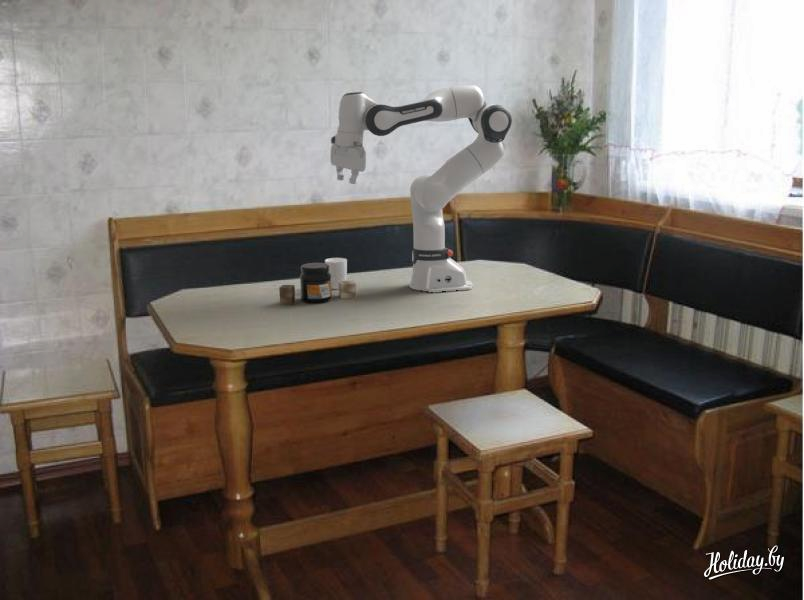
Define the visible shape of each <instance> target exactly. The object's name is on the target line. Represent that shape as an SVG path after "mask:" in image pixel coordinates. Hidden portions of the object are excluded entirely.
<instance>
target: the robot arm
mask: <svg viewBox="0 0 804 600" xmlns="http://www.w3.org/2000/svg"><path fill="white" fill-rule="evenodd" d="M337 118H338V127H337V132H336V134H335V135H333V136H332V137H330V143H331V147H330V163H331V165H332V166H335V167H336V168H335V170H336V175H337V177H336V179H337V180H338V181H344V179H345V178H344V177H345V175H344V172H343V170H344V169H346V170H350V171H351V172H350V173H351V175H350V177H349V180H348V181H349V184H351V185H356V183H357V178H358V176H359V174H360V172H363V173H364V172H365V171H366V165H367V163H366V161H367V153H366V150H365V147H364V146H363V144H364V143H363V142H364V134H365V133H364V131H369V133H371V134H372V135H374V136H378V137H384V136H388V135H390V134H391V133H393V132H394V131H395V130H396V129H398V128H400V127H402V126H407V125H412V124H416V123H420V122H427V121H428V122H436V123H437V122H438V123H440V122H451V121H455V120H459V119H460V120H461V119H468V121H469V123H470V125H471V127H472V128H473V130H474V131H475V132H476V133H477V134H478V135H477V137H476V138H475V140H474V141H473V142H472V143H470V144H469V145H467V146H466V147H464V148H463V149H462V150H460V151H459V152H457V153H456V154H455V155H453V156H452V157H450V158H448V160H446V162H445V163H444V164H443V165H441V167H440V168H438V170H436V171H435V172H434V173H433V174H432V175H420V176H418V177H417V178H415V179H414V180H413V181H412V183H411V185H410V188H409V189H410V190H409V191H410V194H409V195H410V205H411V216H412V226H413V227H412V229H413V232H412V233H413V247H412V251H411V261H412V264H413V265H412V274H411V279H410V283H409V288H410V289H412V290H416V291H421V290H422V291H421V292H426V291H428V292H427V293H431V292H433V293H442V291H446V292H457V291H456V290H458V291H467V290H472V289H473V282H472V281H471V280H470V279H468V278H467V273H466V271H465V269H464V267H462V265H460V264H459V263H458V262H456V260H454V259H452V258H451V257H453V256H454V252H453V250H452V249H449V248H447V247H446V245H445V244H446V243H445V241H446V240H445V239H446V233H445V232H446V230H445V229H446V227H445V226H446V225H445V219H444V213H443V209H444V208H445V207H446V205H447V204H448V203H450V202H451V201H452V200H453V199H454V198H455V197H456V196H458V194H459V193H460V192H461V191H462V190H463V189H465V188H466V187H467V186H468V185H470V184H471V183H472V182H473V183H474V181H476V180H477V179H479V177H481V176H483V175H484V174H486V173H487V172H488V171H490V169H492V168H493V167H494V166H495V165H496V164H497V163H498V162H499V161H500V160H501V159H502V157H503V156H504V153H505V151H504V146H503V143H502V142H503V141H504V140H505V138H506V136H507V134H508V133H509V131H510V130H511V129H510V128H511V127H512V122H513V119H512V115H511V112H510V111H509V110H508V108H506V107H505V106H503V105H500V104H495V103H488V102H486V101H485V97H484V94H483V92H482V90H481V88H480V87H479V86H477V85H473V84H466V85H465V84H464V85H462V84H461V85H454V86H449V87H444V88H440V89H437V90H435V91H432V92H431V93H429V94H428V95H427V96H426V97H425V98H424V99H421V100H420V101H417V102H413V103H410V104H409V103H408V104H404V105H400V106H390V105H386V104H380V103H379V102H376V101H375V100H373V99H371V98H370V97H369V96H367V95H366V94H365V93H364V92H362V91H358V92H356V91H355V92H347V93H345V94H344V95H342V96H341V98H340V102H339V109H338V117H337Z"/></svg>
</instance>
